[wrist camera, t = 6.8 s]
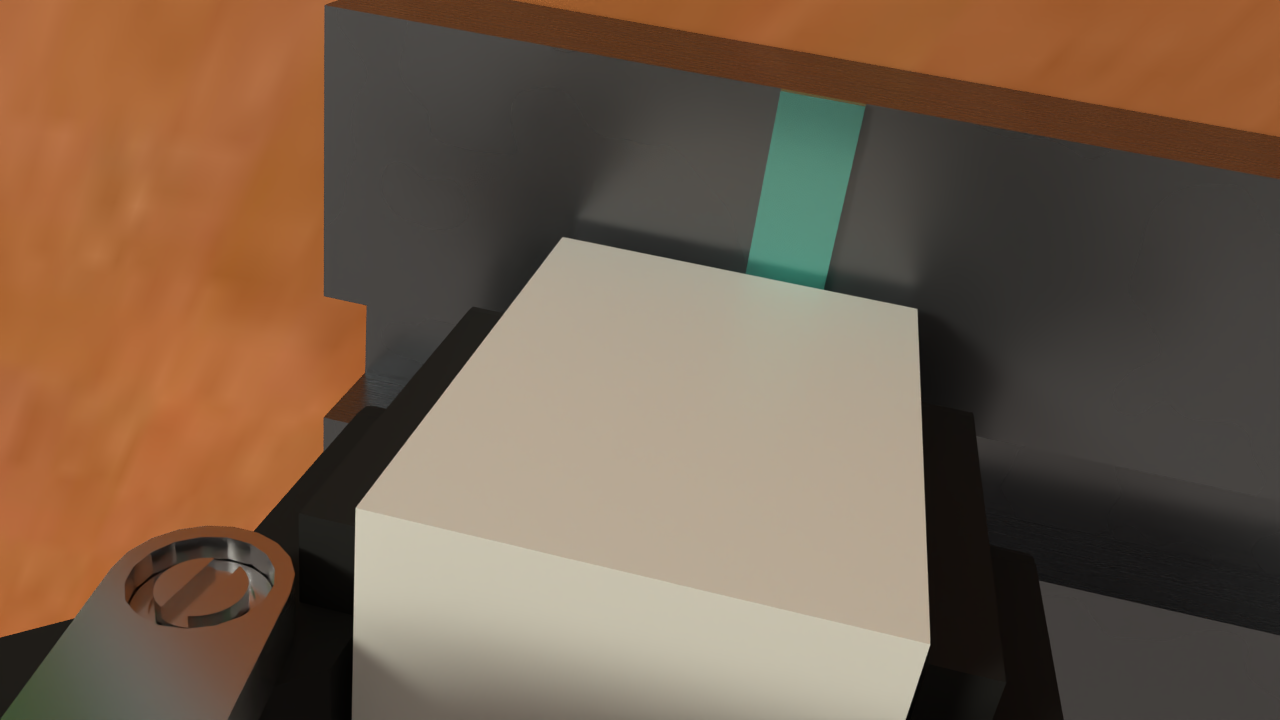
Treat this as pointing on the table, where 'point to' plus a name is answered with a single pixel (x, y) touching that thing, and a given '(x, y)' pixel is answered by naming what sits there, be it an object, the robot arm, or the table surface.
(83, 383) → the table surface
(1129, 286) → the fader housing
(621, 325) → the fader tab
